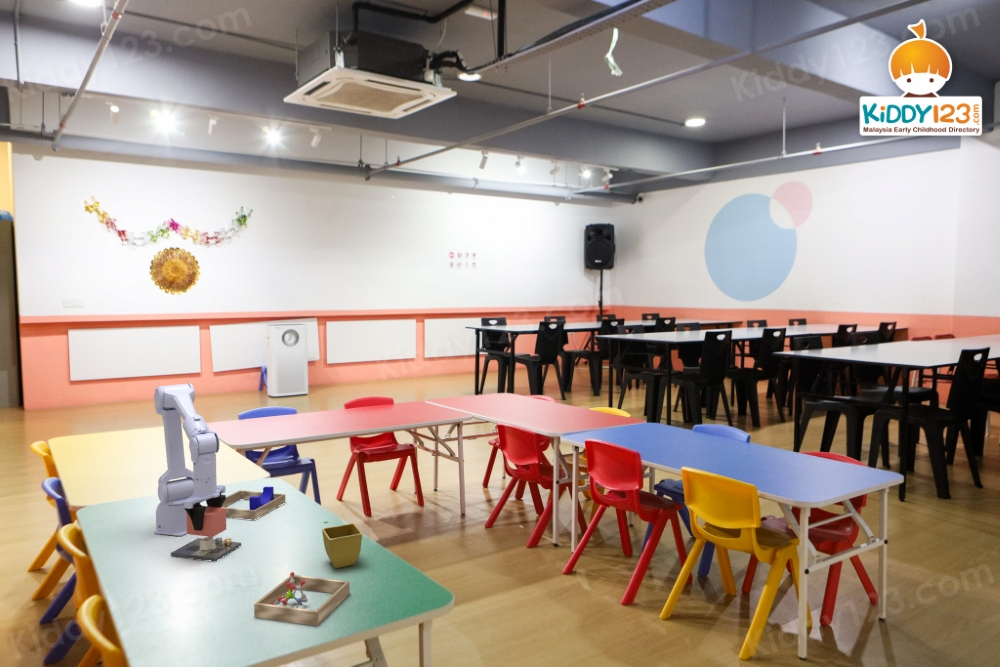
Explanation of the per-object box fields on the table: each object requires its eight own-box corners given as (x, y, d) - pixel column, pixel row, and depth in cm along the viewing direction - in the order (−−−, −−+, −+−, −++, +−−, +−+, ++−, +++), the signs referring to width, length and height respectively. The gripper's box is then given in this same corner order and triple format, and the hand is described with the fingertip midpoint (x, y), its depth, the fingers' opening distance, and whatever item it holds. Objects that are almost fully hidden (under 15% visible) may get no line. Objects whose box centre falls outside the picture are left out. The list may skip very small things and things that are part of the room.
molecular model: (297, 597, 155) (297, 567, 155) (313, 610, 149) (312, 578, 149) (267, 607, 150) (267, 575, 150) (282, 620, 145) (282, 587, 144)
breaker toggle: (199, 549, 180) (199, 539, 179) (205, 546, 182) (205, 536, 182) (207, 550, 179) (207, 540, 179) (213, 547, 181) (213, 537, 181)
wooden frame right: (254, 617, 146) (254, 604, 146) (291, 586, 161) (291, 574, 161) (317, 625, 142) (317, 612, 142) (349, 593, 157) (349, 581, 157)
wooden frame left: (206, 515, 210) (206, 506, 209) (240, 498, 226) (240, 490, 226) (254, 520, 206) (254, 511, 205) (285, 503, 222) (285, 494, 222)
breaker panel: (170, 556, 178) (170, 548, 178) (198, 541, 189) (198, 533, 188) (215, 561, 175) (215, 553, 175) (241, 546, 185) (241, 538, 185)
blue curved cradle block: (260, 503, 222) (260, 486, 222) (273, 504, 222) (273, 486, 221) (245, 516, 210) (244, 497, 210) (258, 516, 210) (258, 498, 209)
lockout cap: (186, 534, 178) (186, 512, 178) (201, 526, 184) (200, 505, 183) (212, 537, 176) (212, 515, 176) (226, 529, 182) (225, 508, 181)
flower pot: (329, 573, 168) (329, 539, 168) (321, 560, 176) (321, 528, 175) (363, 566, 172) (362, 533, 172) (354, 554, 180) (354, 522, 180)
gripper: (199, 486, 171) (200, 536, 172) (234, 471, 185) (235, 518, 186) (176, 484, 173) (177, 534, 174) (212, 469, 187) (213, 516, 188)
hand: (206, 525), depth 180 cm, fingers closed on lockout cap, 6 cm apart
